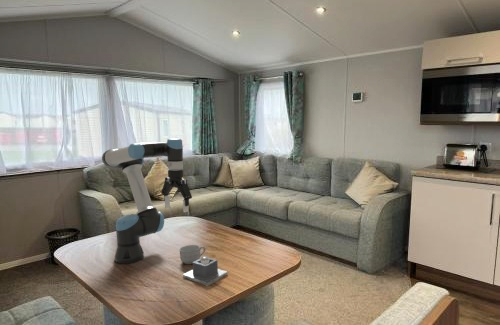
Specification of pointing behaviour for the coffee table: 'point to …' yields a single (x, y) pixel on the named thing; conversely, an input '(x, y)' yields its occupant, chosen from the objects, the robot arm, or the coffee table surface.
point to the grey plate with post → (202, 280)
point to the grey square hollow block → (205, 268)
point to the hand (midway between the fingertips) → (176, 209)
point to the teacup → (190, 253)
